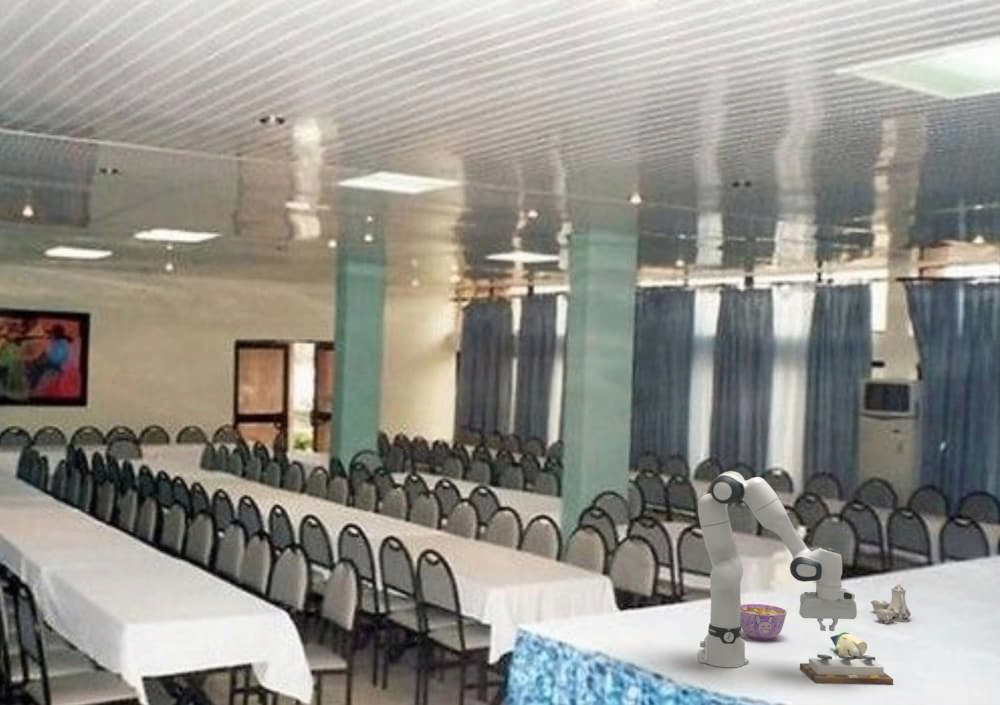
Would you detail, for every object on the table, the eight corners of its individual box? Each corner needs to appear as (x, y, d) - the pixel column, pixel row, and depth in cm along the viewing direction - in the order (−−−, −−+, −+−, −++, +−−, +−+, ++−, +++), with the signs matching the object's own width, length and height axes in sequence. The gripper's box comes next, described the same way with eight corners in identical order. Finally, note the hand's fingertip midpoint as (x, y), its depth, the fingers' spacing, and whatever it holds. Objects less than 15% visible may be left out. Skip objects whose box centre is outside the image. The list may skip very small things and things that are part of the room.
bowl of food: (766, 646, 445) (767, 617, 444) (725, 635, 460) (726, 607, 460) (795, 639, 458) (796, 611, 458) (755, 628, 473) (756, 601, 473)
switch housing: (808, 666, 411) (809, 655, 411) (872, 667, 412) (873, 656, 412) (817, 674, 401) (818, 663, 401) (883, 675, 402) (883, 664, 402)
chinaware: (866, 614, 514) (863, 578, 514) (904, 612, 512) (901, 576, 512) (878, 629, 487) (875, 591, 487) (918, 627, 484) (915, 589, 484)
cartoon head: (860, 669, 426) (824, 653, 445) (877, 654, 430) (841, 639, 448) (852, 651, 424) (816, 635, 442) (869, 636, 427) (833, 622, 446)
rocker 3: (860, 658, 410) (859, 654, 410) (868, 658, 410) (867, 655, 411) (867, 660, 403) (867, 656, 403) (875, 660, 403) (875, 657, 404)
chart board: (799, 668, 415) (799, 662, 415) (873, 669, 416) (873, 664, 416) (815, 683, 397) (816, 677, 397) (893, 684, 398) (893, 678, 398)
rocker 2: (838, 657, 410) (838, 654, 410) (846, 657, 410) (846, 654, 410) (845, 659, 403) (845, 656, 403) (853, 659, 403) (853, 656, 403)
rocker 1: (817, 657, 409) (817, 654, 410) (825, 657, 410) (825, 654, 410) (823, 659, 402) (823, 656, 403) (831, 659, 403) (831, 656, 403)
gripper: (803, 593, 400) (801, 632, 400) (859, 595, 401) (857, 633, 401) (797, 589, 407) (796, 627, 407) (852, 591, 408) (851, 628, 408)
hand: (827, 630), depth 404 cm, fingers closed
